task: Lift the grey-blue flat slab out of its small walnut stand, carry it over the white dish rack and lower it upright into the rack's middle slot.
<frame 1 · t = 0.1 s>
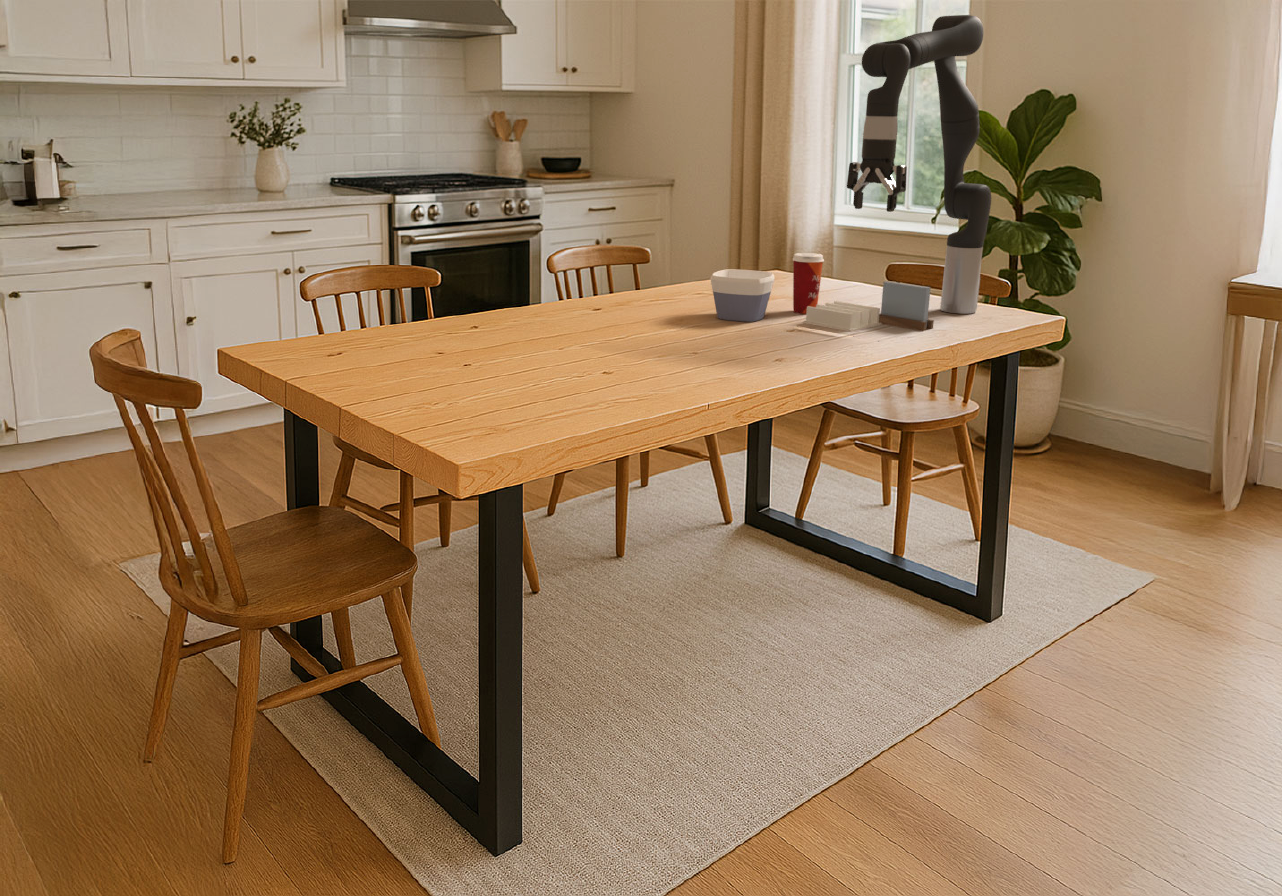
hand: (874, 210, 252), 29 cm above the table, fingers open, 8 cm apart
stand: (902, 328, 267), on the table
grey-blue flat slab: (903, 325, 267), point 1 cm above the table, touching stand
bowl: (740, 318, 277), on the table
rack: (841, 326, 268), on the table
coffee cup: (804, 312, 286), on the table
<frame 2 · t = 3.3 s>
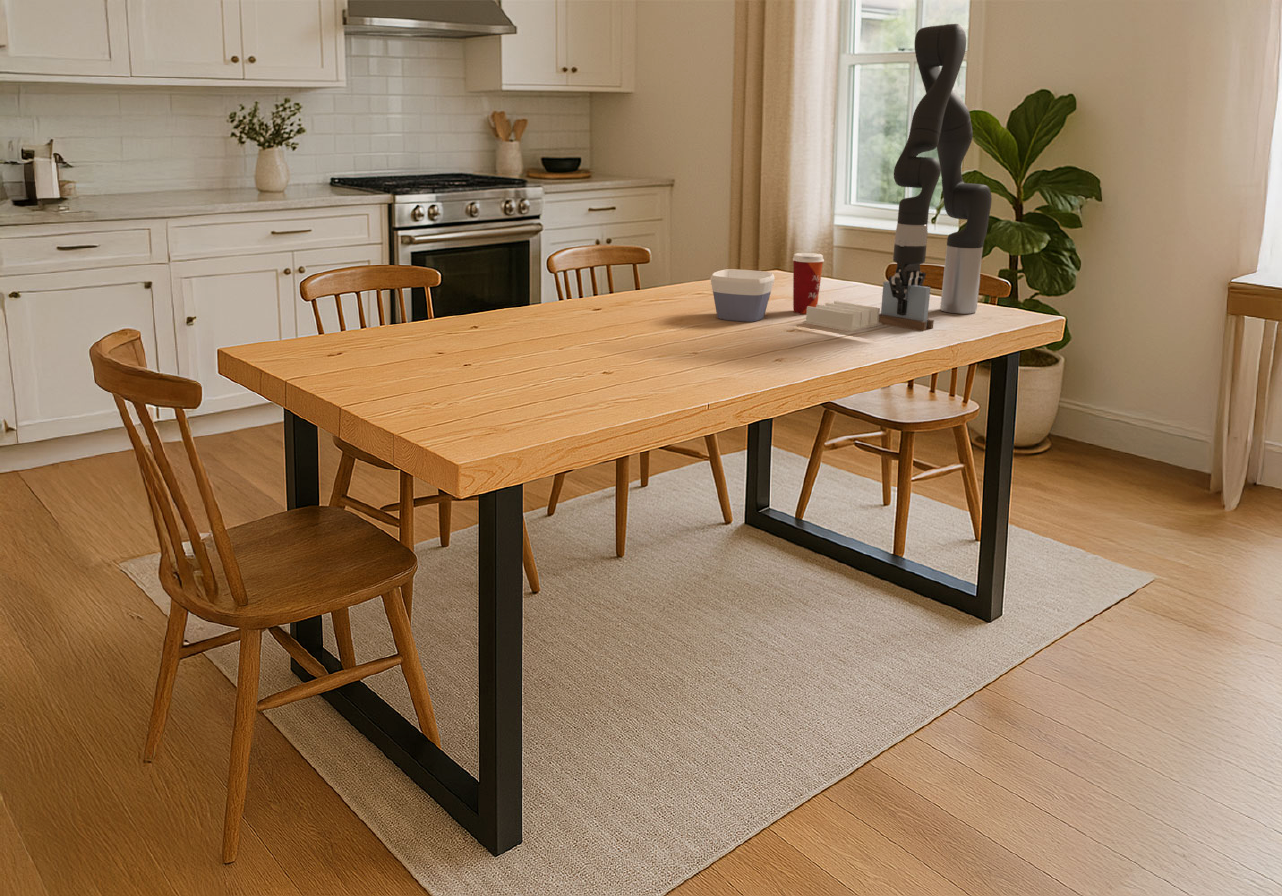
hand: (903, 314, 266), 4 cm above the table, fingers closed on grey-blue flat slab, 2 cm apart
grey-blue flat slab: (902, 325, 267), point 1 cm above the table, touching gripper, stand
everything else where it was.
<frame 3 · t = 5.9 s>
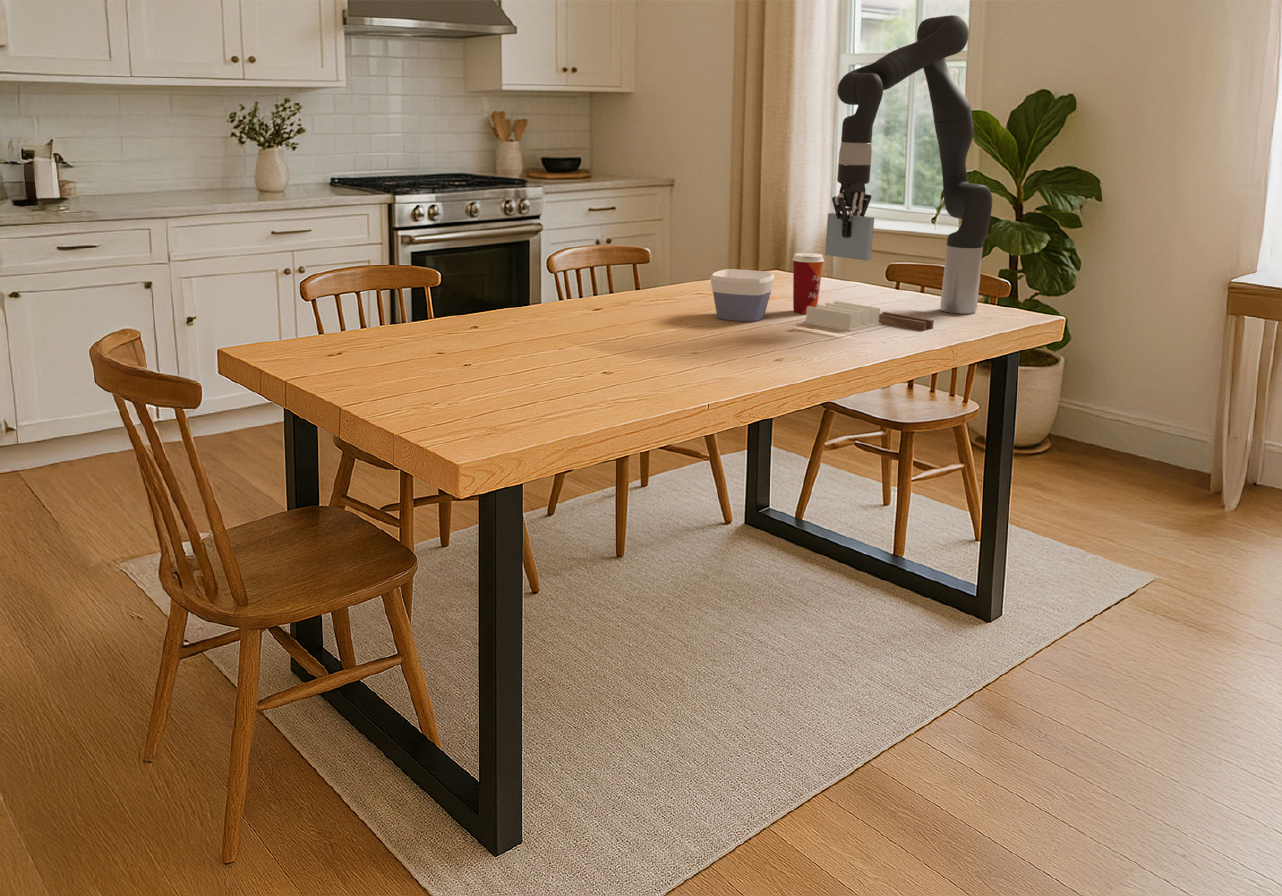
hand: (849, 236, 261), 22 cm above the table, fingers closed on grey-blue flat slab
grey-blue flat slab: (847, 257, 263), point 17 cm above the table, touching gripper
everything else where it was.
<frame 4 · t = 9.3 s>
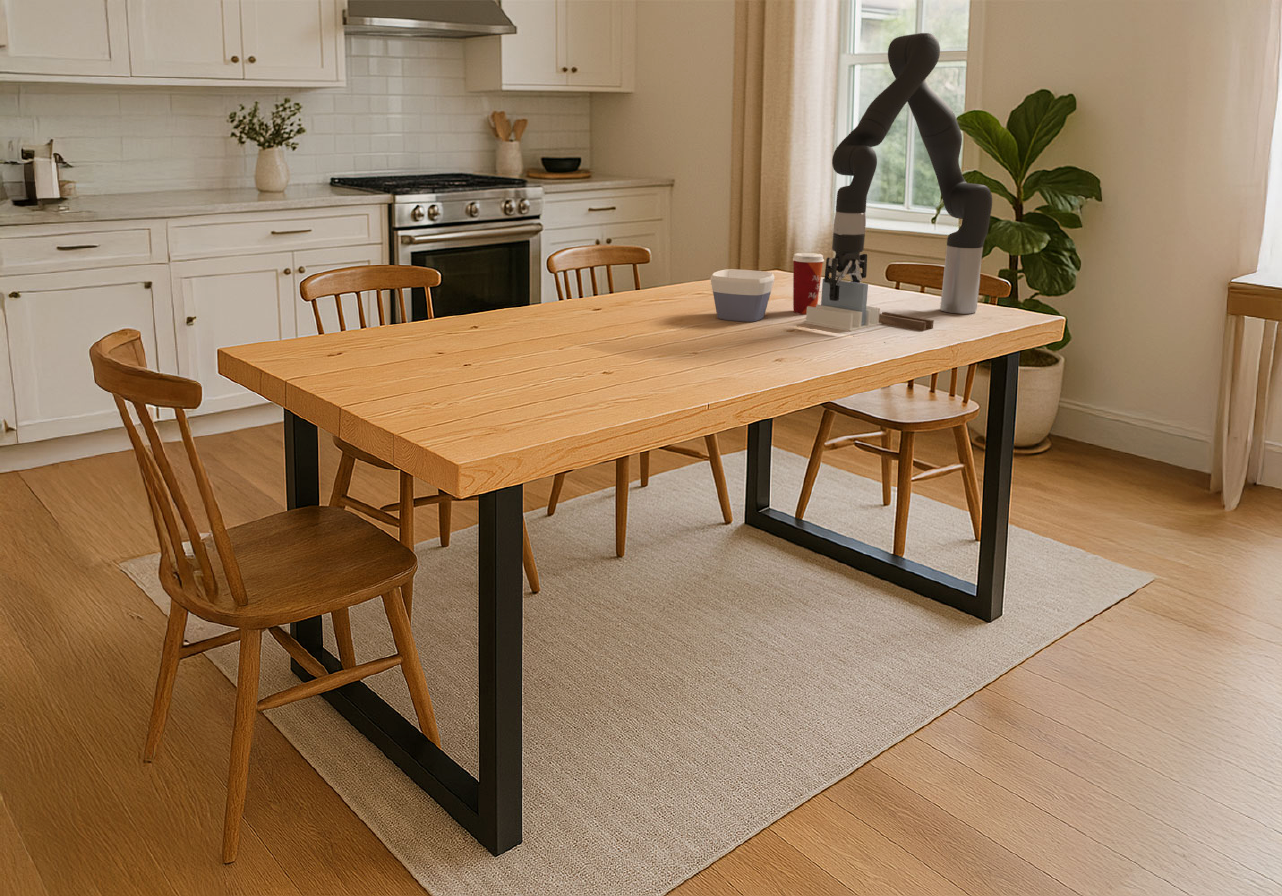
hand: (844, 298, 266), 7 cm above the table, fingers open, 8 cm apart
grey-blue flat slab: (842, 321, 267), point 1 cm above the table, touching rack
everything else where it was.
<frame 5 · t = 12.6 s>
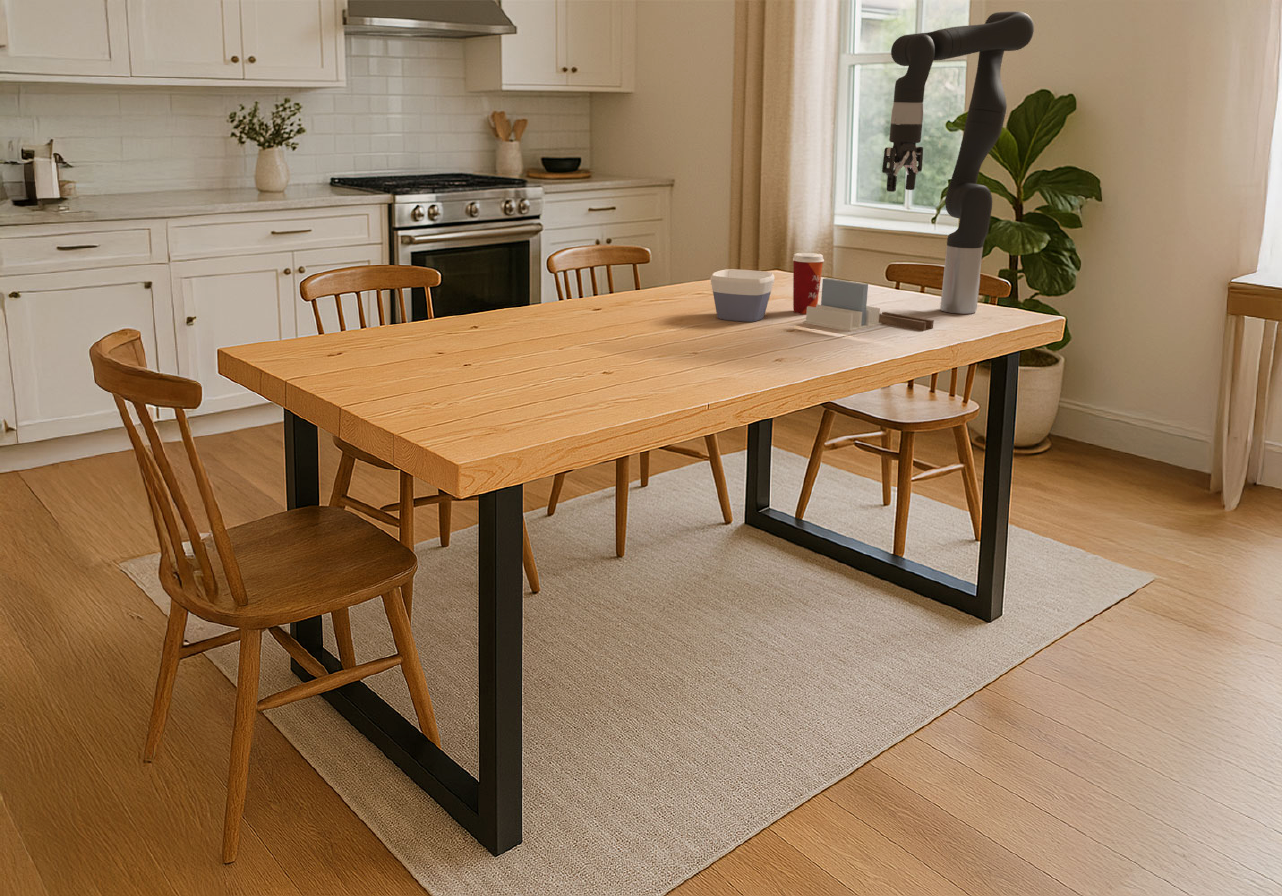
hand: (900, 190, 269), 32 cm above the table, fingers open, 8 cm apart
nothing on the table moved.
at the end: grey-blue flat slab 0.1 cm off-centre on the rack, point 1.2 cm above the rack's base; grey-blue flat slab tilted 0°; the gripper is holding nothing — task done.
